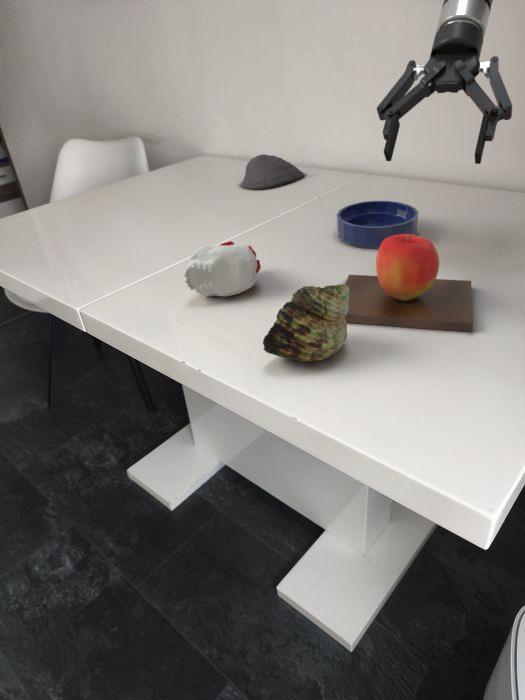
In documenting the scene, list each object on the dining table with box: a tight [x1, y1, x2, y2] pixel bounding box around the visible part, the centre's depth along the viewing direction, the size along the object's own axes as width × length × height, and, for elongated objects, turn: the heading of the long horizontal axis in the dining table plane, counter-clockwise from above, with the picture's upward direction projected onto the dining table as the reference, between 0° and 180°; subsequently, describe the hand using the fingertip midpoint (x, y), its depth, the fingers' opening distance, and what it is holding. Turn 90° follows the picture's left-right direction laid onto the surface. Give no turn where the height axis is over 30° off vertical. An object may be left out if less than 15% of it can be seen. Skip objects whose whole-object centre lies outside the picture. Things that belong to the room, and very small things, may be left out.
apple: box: [375, 234, 440, 301], centre depth 83 cm, size 10×10×10 cm
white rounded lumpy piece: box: [184, 240, 262, 297], centre depth 94 cm, size 9×11×15 cm
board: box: [345, 274, 474, 333], centre depth 86 cm, size 20×14×2 cm
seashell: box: [262, 283, 350, 362], centre depth 74 cm, size 11×11×10 cm
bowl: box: [336, 200, 420, 249], centre depth 111 cm, size 16×16×4 cm
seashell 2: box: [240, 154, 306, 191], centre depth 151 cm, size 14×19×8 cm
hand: (430, 157), depth 83 cm, fingers open, 13 cm apart
